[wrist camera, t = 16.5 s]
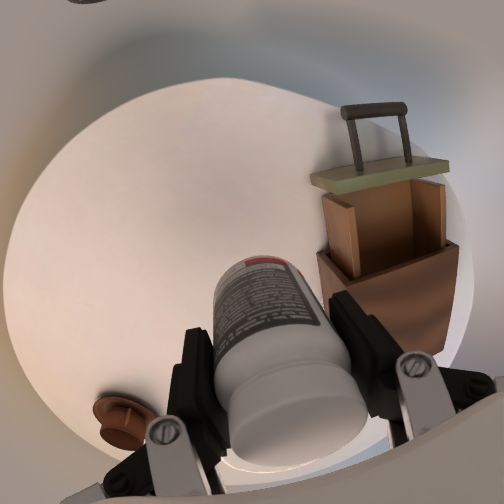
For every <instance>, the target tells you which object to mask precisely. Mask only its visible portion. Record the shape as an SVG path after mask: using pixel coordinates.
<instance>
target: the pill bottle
mask: <svg viewBox="0 0 504 504" xmlns="http://www.w3.org/2000/svg"><path fill="white" fill-rule="evenodd" d="M213 379H214V388H215V393H216V396H217V399H218V401H219V403H220V405H221V406H222V407H223V408H224V410H225V411H226V412H227V416H228V423H229V436H230V445H231V447H232V450H233V451H234V453H235V454H236V455H237V456H238V457H239V458H241V459H243V460H245V461H247V462H249V463H252V464H256V465H260V466H268V467H285V466H294V465H299V464H304V463H308V462H311V461H314V460H318V459H320V458H323V457H325V456H327V455H329V454H332V453H334V452H335V451H337V450H339V449H340V448H342V447H344V446H345V445H346V444H348V443H349V442H350V441H352V440H353V439H354V438H355V437H356V436H357V435H358V434H359V433H360V431H361V430H362V429H363V427H364V425H365V423H366V421H367V418H368V409H367V406H366V404H365V401H364V399H363V397H362V395H361V393H360V391H359V389H358V386H357V383H356V381H355V380H354V378H353V377H352V376H351V358H350V354H349V352H348V349H347V347H346V346H345V344H344V342H343V340H342V338H341V337H340V335H339V334H338V332H337V330H336V329H335V327H334V326H333V324H332V322H331V321H330V319H329V318H328V316H327V314H326V313H325V311H324V310H323V308H322V306H321V305H320V303H319V301H318V300H317V298H316V297H315V295H314V293H313V292H312V290H311V288H310V287H309V285H308V283H307V282H306V280H305V278H304V277H303V275H302V274H301V273H300V271H299V270H298V269H297V268H296V267H295V266H293V265H292V264H291V263H289V262H287V261H286V260H284V259H281V258H278V257H274V256H254V257H250V258H247V259H244V260H242V261H240V262H238V263H236V264H235V265H233V266H232V267H231V268H230V269H228V270H227V271H226V272H225V273H224V274H223V276H222V277H221V278H220V280H219V282H218V284H217V286H216V289H215V292H214V301H213Z"/></svg>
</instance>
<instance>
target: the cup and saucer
mask: <svg viewBox="0 0 504 504" xmlns="http://www.w3.org/2000/svg"><path fill="white" fill-rule="evenodd" d="M93 413H94V415H95V417H96V418H97V420H98V421H99V422H100V423H101V424H102V426H101V429H100V435H101V437H102V438H103V439H104V440H105V441H106V442H107V443H109V444H110V445H112V446H114V447H117V448H119V449H123V450H128V451H136V450H138V449H139V448H140V447H141V446H143V443H144V439H145V431H146V428H147V426H148V425H149V424H150V422H152V421H153V420H154V419H156V417H155V415H154V414H153V413H151V412H150V411H149V410H148V409H147V408H145V407H144V406H142V405H140V404H138V403H136V402H134V401H131V400H128V399H125V398H120V397H105V398H101V399H99V400H97V401H96V402H95V404H94V405H93Z"/></svg>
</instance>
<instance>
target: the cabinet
mask: <svg viewBox="0 0 504 504" xmlns="http://www.w3.org/2000/svg"><path fill="white" fill-rule="evenodd" d="M458 256H459V245H457V244H455V243H453V242H451V241H449V240H447V239H446V247H445V248H442V249H440V250H437V251H435V252H432V253H429V254H427V255H424V256H421V257H419V258H416V259H413V260H410V261H408V262H405V263H402V264H399V265H396V266H393V267H390V268H388V269H385V270H382V271H379V272H376V273H373V274H370V275H367V276H364V277H361V278H358V279H355V280H352V281H350V280H349V279H348V278H347V277H346V276H345V275H344V274H343V273H342V271H341V270H340V269H339V268H338V267H337V266H336V265H335V264H334V263H333V262H332V261H331V254H330V249H329V250H325V251H322V252H318V253H317V260H318V266H319V273H320V280H321V287H322V294H323V302H324V309H325V313H326V314H327V316H328V318H329V319H330V314H329V303H328V299H329V298H331V297H332V294H333V293H336V292H339V291H342V290H347V291H348V292H349V294H350V295H351V296H352V297H353V298H354V300H355V301H356V302H357V303H358V304H359V306H360V307H361V308H362V309H363V311H364V312H365V313H366V314H367V315H370V314H373V315H374V316H375V317H376V318H377V319H378V320H379V321H380V322H381V324H382V325H383V326H384V327H385V329H386V330H387V331H388V332H389V333H390V335H391V336H392V337H393V338H394V340H395V341H396V342H397V343H398V344H399V346H400V347H401V348H402V349H403V351H404V352H408V351H412V350H421V351H424V352H427V353H429V354H430V355H431V356H433V355H435V354H437V353H439V352H441V351H443V349H444V345H445V341H446V336H447V332H448V327H449V322H450V317H451V311H452V305H453V299H454V293H455V285H456V277H457V268H458Z"/></svg>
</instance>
